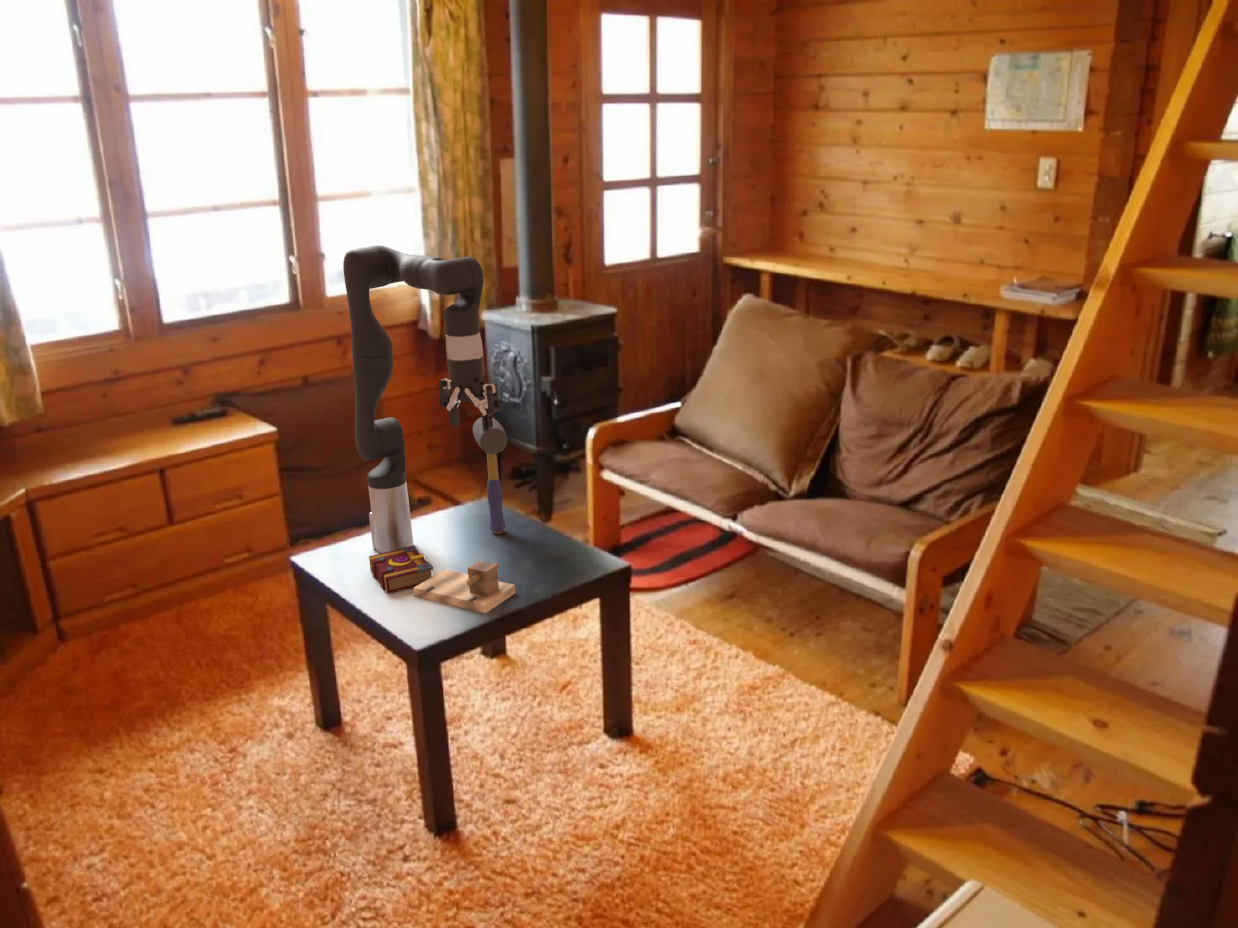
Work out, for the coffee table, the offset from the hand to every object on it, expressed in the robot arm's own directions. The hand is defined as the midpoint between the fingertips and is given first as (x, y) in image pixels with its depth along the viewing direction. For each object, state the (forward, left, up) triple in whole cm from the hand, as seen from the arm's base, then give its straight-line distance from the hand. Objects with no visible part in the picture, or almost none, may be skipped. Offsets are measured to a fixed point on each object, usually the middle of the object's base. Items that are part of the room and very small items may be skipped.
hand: (471, 428), depth 224 cm
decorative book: (-23, -3, -39) cm, 45 cm away
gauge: (+3, -4, -36) cm, 36 cm away
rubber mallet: (-18, +29, -38) cm, 51 cm away
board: (-3, -4, -38) cm, 38 cm away
